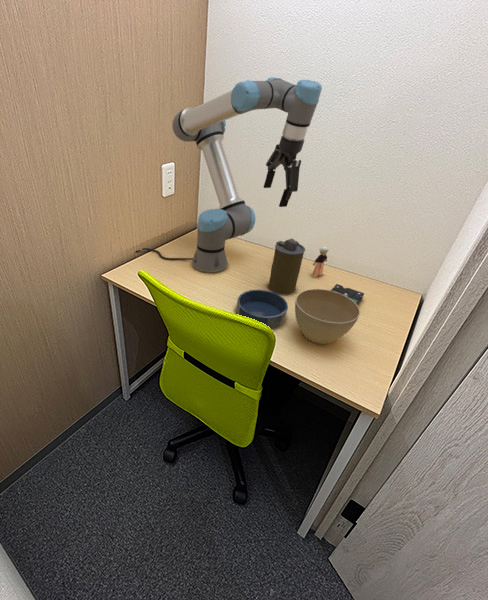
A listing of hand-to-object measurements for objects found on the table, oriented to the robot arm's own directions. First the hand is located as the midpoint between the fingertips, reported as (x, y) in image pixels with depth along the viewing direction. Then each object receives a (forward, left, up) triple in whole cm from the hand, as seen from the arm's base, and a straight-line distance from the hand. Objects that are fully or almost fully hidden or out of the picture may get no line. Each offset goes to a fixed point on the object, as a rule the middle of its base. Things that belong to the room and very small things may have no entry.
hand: (274, 196), depth 124 cm
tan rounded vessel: (+27, -33, -32) cm, 53 cm away
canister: (+10, -10, -32) cm, 35 cm away
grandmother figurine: (+21, +7, -32) cm, 39 cm away
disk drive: (+32, -10, -32) cm, 46 cm away
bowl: (+8, -31, -31) cm, 45 cm away
